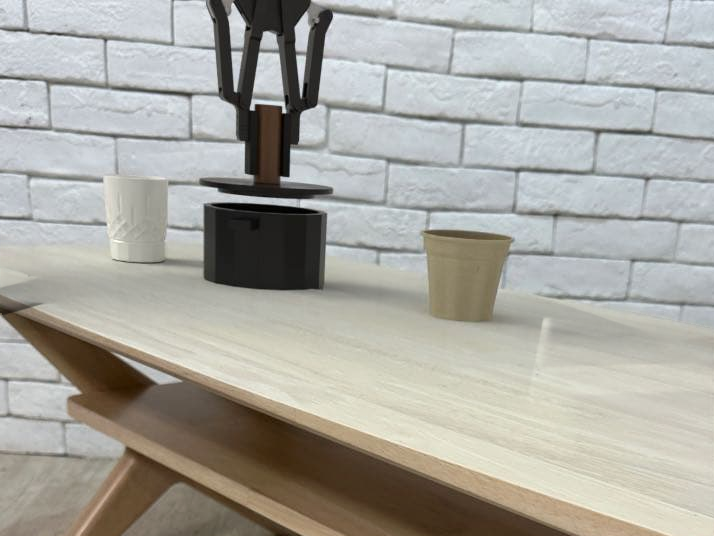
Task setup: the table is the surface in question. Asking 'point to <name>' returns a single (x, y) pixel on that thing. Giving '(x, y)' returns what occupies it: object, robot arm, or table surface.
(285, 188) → the pot lid
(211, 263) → the pot
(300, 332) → the table surface
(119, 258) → the white cup
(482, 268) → the flower pot
